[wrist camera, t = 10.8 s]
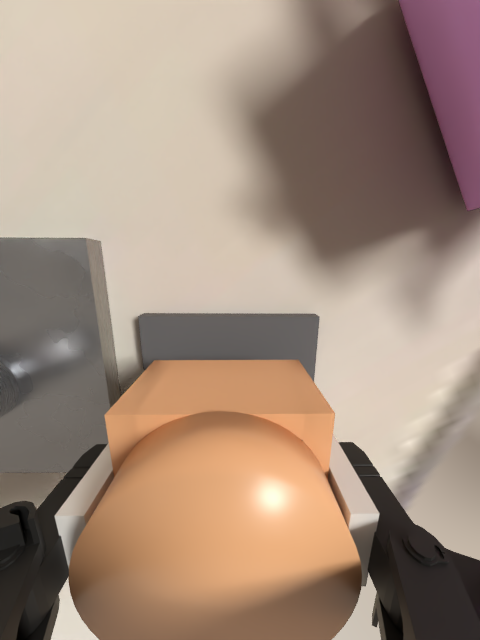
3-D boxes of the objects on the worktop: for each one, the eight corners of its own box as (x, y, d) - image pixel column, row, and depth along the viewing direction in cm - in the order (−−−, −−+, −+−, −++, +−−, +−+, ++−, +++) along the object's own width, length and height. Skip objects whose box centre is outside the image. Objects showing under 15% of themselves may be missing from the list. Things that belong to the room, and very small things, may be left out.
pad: (157, 456, 15) (153, 466, 14) (144, 313, 13) (138, 316, 12) (302, 455, 15) (306, 465, 14) (314, 313, 13) (319, 316, 12)
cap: (151, 358, 10) (41, 473, 5) (300, 357, 10) (381, 470, 5) (163, 479, 12) (92, 681, 6) (292, 478, 12) (345, 677, 6)
